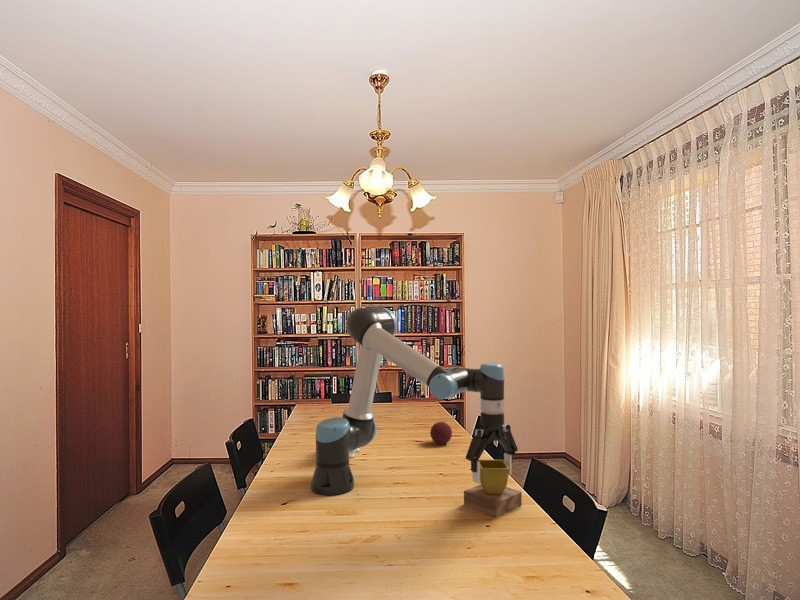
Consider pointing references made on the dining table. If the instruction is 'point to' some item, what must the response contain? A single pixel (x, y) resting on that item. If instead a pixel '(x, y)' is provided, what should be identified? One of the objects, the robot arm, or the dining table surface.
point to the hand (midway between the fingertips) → (492, 477)
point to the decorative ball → (441, 432)
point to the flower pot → (493, 476)
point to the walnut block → (492, 500)
